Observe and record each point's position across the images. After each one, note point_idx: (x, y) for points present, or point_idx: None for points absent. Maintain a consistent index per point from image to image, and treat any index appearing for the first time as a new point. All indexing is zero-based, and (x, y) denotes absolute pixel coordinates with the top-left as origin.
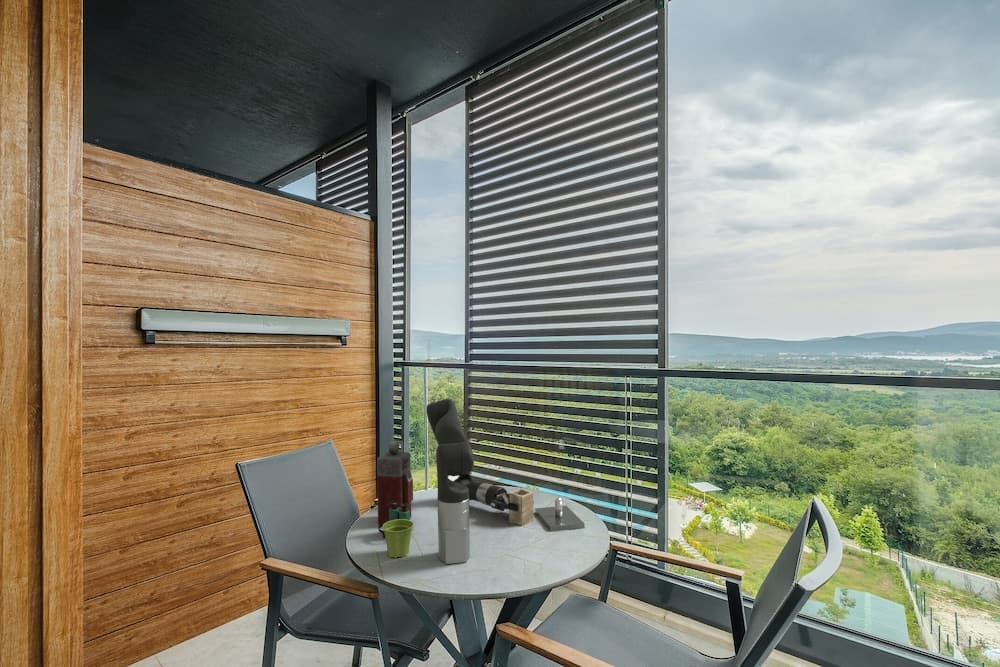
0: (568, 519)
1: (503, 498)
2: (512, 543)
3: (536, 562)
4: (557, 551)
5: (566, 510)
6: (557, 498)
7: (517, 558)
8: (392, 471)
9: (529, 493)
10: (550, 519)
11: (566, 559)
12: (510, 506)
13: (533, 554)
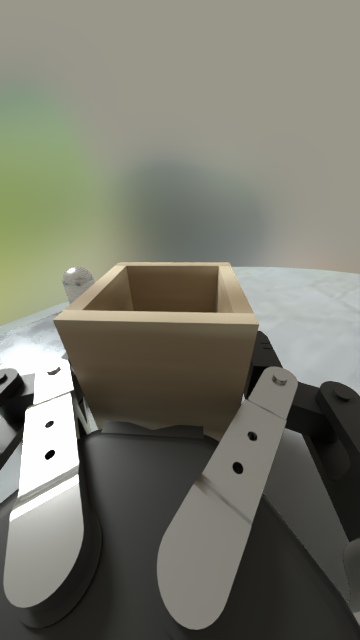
0: None
1: (268, 471)
2: (333, 340)
3: (317, 288)
4: (254, 287)
5: (33, 330)
6: (81, 269)
7: (351, 305)
8: None
9: (151, 263)
10: None
11: (262, 277)
12: (275, 359)
13: (306, 299)
